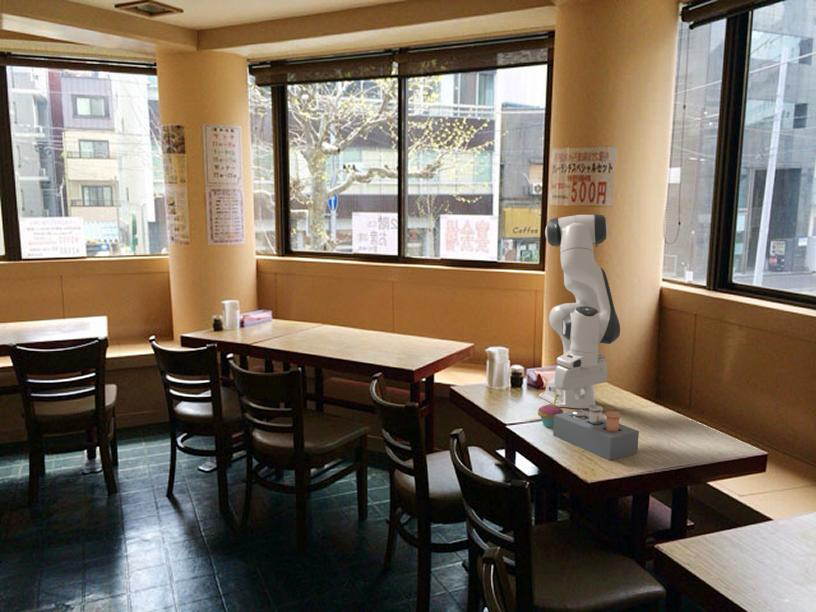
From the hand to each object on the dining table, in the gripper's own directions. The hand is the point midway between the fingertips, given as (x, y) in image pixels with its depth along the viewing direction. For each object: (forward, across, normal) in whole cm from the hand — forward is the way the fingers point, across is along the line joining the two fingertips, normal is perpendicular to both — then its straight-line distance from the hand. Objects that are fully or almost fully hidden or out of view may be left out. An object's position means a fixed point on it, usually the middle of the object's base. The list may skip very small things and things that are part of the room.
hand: (580, 398), depth 208 cm
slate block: (+12, +1, +8) cm, 15 cm away
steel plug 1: (+12, +1, +1) cm, 12 cm away
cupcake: (+13, +1, -12) cm, 18 cm away
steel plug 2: (+8, +1, +8) cm, 11 cm away
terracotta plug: (+8, +1, +15) cm, 17 cm away
